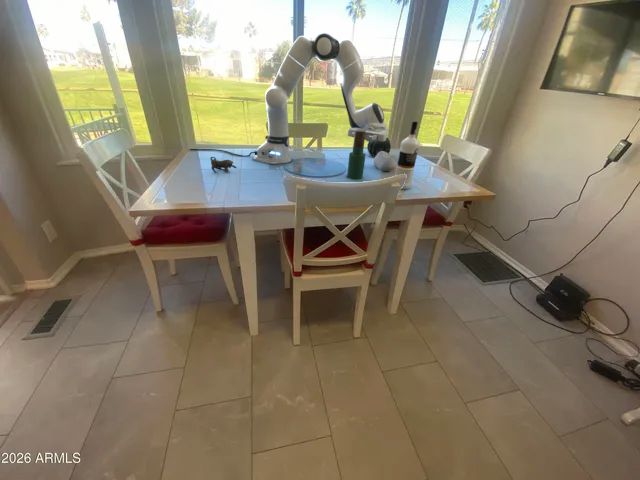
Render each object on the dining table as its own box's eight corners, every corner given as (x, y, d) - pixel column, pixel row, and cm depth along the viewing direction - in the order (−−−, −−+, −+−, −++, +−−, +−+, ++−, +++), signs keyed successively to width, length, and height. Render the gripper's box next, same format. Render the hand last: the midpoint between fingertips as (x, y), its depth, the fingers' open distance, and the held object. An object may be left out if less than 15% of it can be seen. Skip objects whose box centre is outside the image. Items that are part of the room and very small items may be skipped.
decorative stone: (369, 159, 163) (380, 145, 158) (380, 168, 167) (392, 155, 163) (377, 170, 149) (390, 156, 145) (389, 180, 153) (402, 166, 149)
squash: (375, 142, 188) (372, 127, 175) (395, 147, 181) (393, 132, 168) (366, 159, 186) (361, 145, 173) (386, 165, 179) (383, 150, 166)
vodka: (400, 182, 140) (413, 119, 124) (414, 188, 133) (430, 122, 117) (387, 184, 135) (399, 120, 119) (401, 191, 129) (416, 123, 113)
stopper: (351, 154, 135) (354, 130, 129) (353, 151, 139) (356, 128, 133) (361, 155, 134) (364, 132, 128) (363, 153, 138) (366, 130, 132)
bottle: (345, 178, 141) (348, 146, 132) (348, 173, 147) (352, 143, 138) (360, 180, 139) (365, 148, 130) (363, 175, 145) (367, 145, 137)
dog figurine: (210, 173, 138) (208, 158, 134) (213, 169, 143) (211, 155, 139) (235, 173, 139) (233, 158, 135) (237, 169, 144) (235, 155, 140)
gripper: (354, 123, 147) (343, 127, 136) (390, 128, 139) (382, 132, 128) (352, 135, 150) (342, 140, 140) (388, 141, 142) (379, 146, 132)
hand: (361, 136), depth 134 cm, fingers open, 8 cm apart
